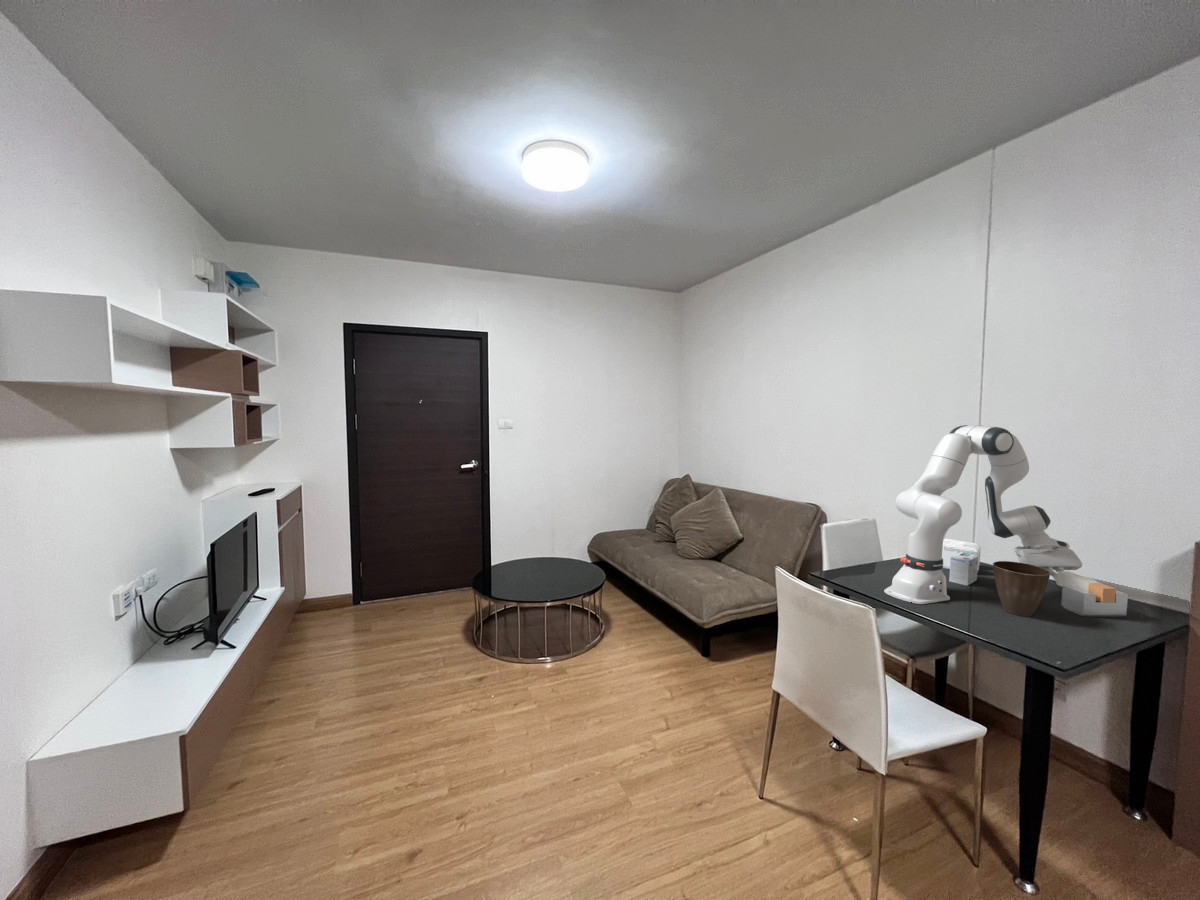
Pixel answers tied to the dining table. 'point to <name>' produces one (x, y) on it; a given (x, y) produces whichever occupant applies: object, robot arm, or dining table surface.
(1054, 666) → the dining table surface
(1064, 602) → the housing
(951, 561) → the light bulb box
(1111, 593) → the plug
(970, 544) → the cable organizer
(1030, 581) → the plant pot
